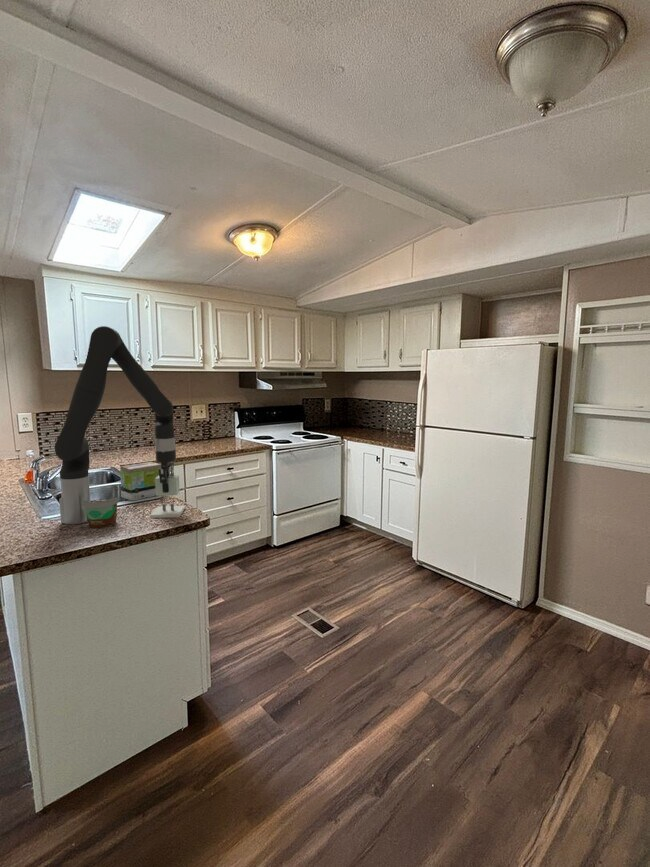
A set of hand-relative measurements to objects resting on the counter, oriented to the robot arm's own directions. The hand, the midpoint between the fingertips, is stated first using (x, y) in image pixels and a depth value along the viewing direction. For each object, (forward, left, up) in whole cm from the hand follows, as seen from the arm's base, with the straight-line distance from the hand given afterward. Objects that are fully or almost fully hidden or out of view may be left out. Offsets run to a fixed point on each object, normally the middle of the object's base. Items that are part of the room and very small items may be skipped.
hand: (167, 490), depth 166 cm
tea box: (-18, +26, -10) cm, 33 cm away
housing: (0, 0, -1) cm, 1 cm away
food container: (-21, -13, -10) cm, 27 cm away
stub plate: (0, 0, -9) cm, 9 cm away
